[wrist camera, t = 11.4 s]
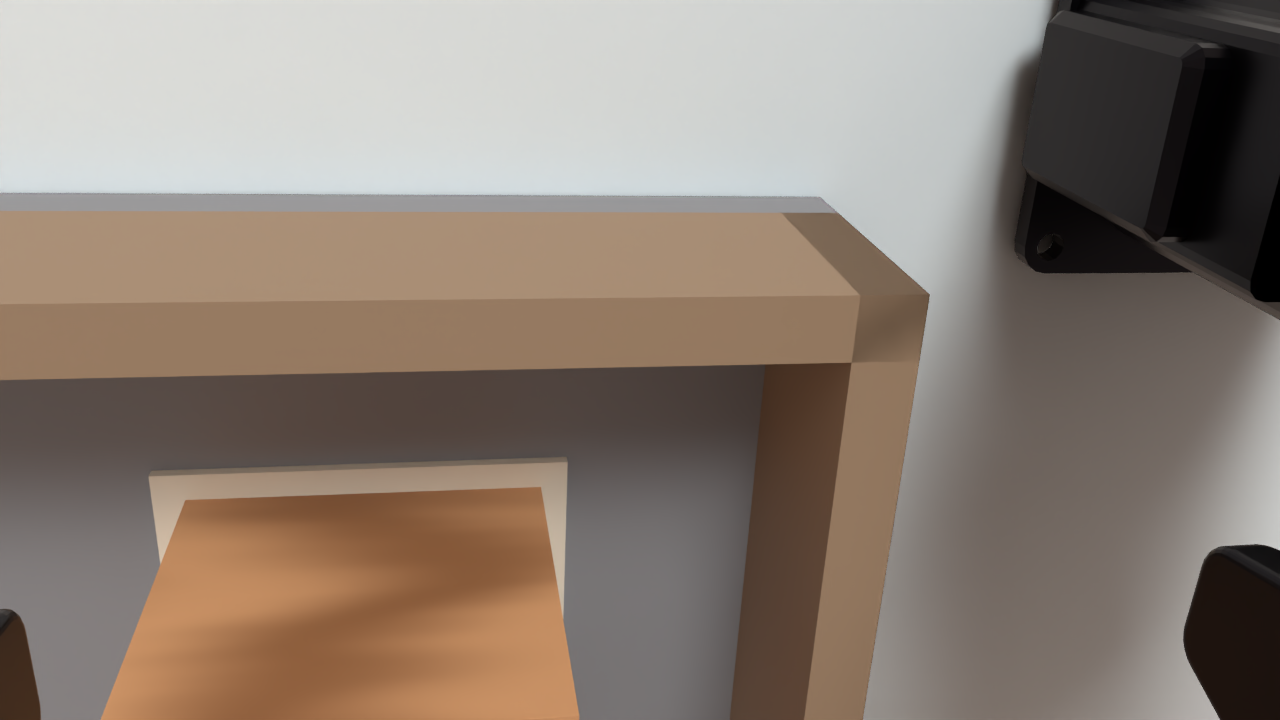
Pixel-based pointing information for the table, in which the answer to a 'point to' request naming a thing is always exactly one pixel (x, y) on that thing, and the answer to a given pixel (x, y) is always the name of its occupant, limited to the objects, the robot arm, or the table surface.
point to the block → (353, 612)
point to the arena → (473, 414)
